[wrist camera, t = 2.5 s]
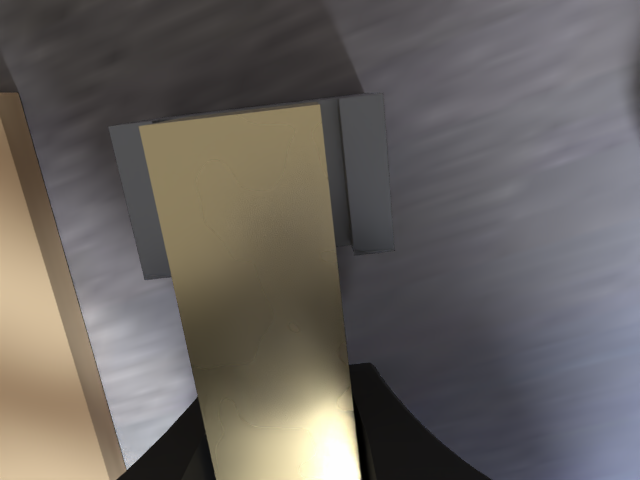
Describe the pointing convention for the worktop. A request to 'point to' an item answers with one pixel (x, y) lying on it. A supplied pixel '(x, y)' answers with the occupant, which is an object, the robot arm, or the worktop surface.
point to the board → (43, 334)
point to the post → (342, 167)
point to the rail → (258, 288)
